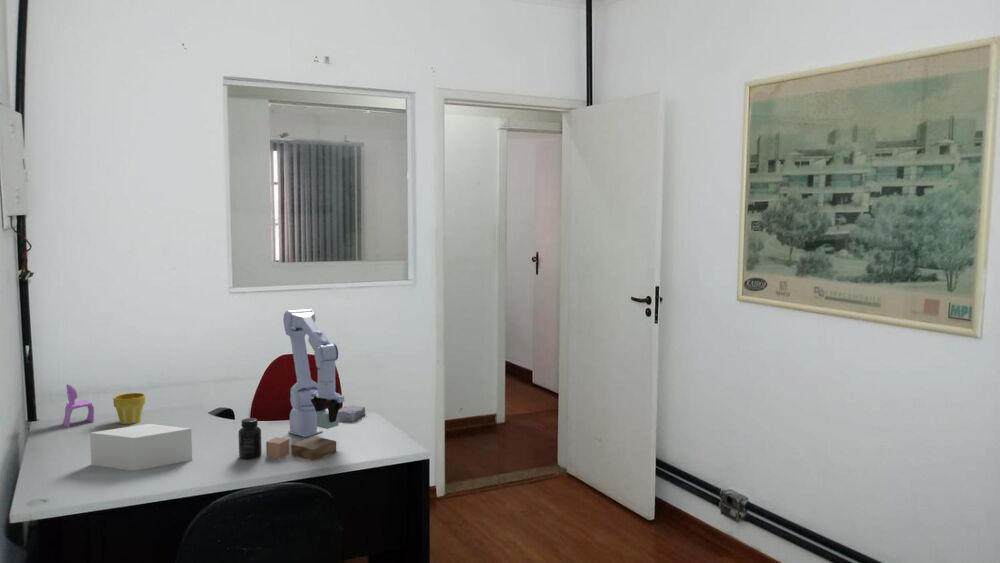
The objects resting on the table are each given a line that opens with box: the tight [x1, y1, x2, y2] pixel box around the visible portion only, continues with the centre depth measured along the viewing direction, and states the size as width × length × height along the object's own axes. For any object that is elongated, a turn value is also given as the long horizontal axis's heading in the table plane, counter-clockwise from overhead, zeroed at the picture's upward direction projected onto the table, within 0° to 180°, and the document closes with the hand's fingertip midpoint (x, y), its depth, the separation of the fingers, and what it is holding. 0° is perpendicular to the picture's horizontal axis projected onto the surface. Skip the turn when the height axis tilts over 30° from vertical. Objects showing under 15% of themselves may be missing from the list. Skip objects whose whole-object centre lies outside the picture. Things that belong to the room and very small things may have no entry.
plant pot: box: [112, 392, 146, 425], centre depth 257 cm, size 10×10×10 cm
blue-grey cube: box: [317, 408, 339, 430], centre depth 233 cm, size 5×5×5 cm
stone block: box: [338, 405, 366, 423], centre depth 268 cm, size 12×5×10 cm
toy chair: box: [61, 383, 95, 428], centre depth 254 cm, size 8×9×15 cm
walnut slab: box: [290, 435, 337, 462], centre depth 226 cm, size 10×10×4 cm
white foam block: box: [89, 423, 193, 472], centre depth 215 cm, size 14×29×10 cm, turn 101°
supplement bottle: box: [238, 417, 263, 461], centre depth 222 cm, size 7×7×12 cm
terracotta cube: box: [265, 436, 290, 460], centre depth 224 cm, size 5×5×5 cm
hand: (326, 420), depth 232 cm, fingers closed on blue-grey cube, 5 cm apart
